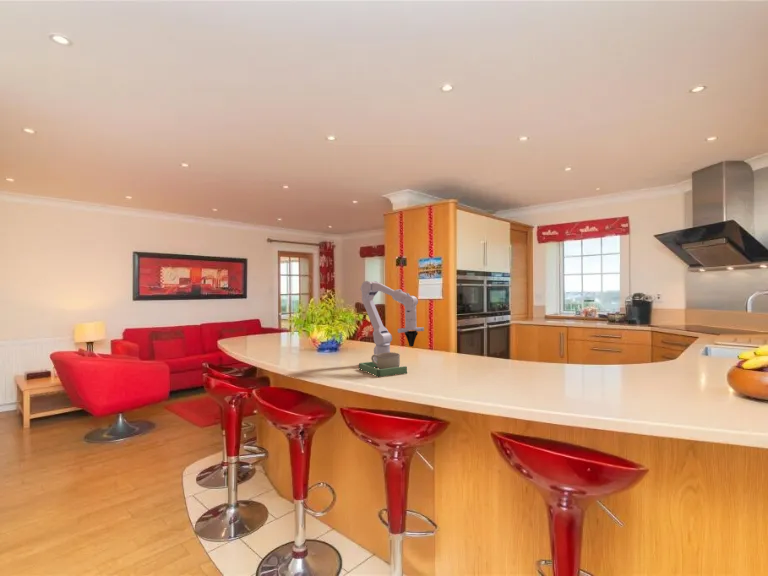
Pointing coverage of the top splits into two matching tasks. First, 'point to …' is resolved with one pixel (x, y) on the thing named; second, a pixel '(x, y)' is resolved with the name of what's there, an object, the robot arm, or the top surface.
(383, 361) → the teacup
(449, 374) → the top surface
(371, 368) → the green bay
